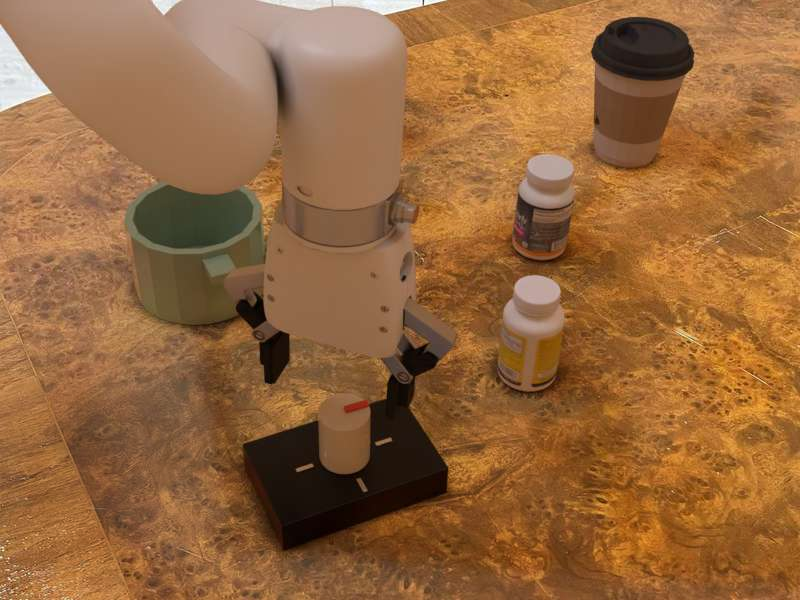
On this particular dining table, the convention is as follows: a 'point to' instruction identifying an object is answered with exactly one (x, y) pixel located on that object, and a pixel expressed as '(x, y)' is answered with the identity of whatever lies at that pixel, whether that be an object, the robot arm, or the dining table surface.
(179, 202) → the pot
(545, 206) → the pill bottle
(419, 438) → the panel
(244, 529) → the dining table surface
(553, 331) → the supplement bottle
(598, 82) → the coffee cup
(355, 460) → the knob
